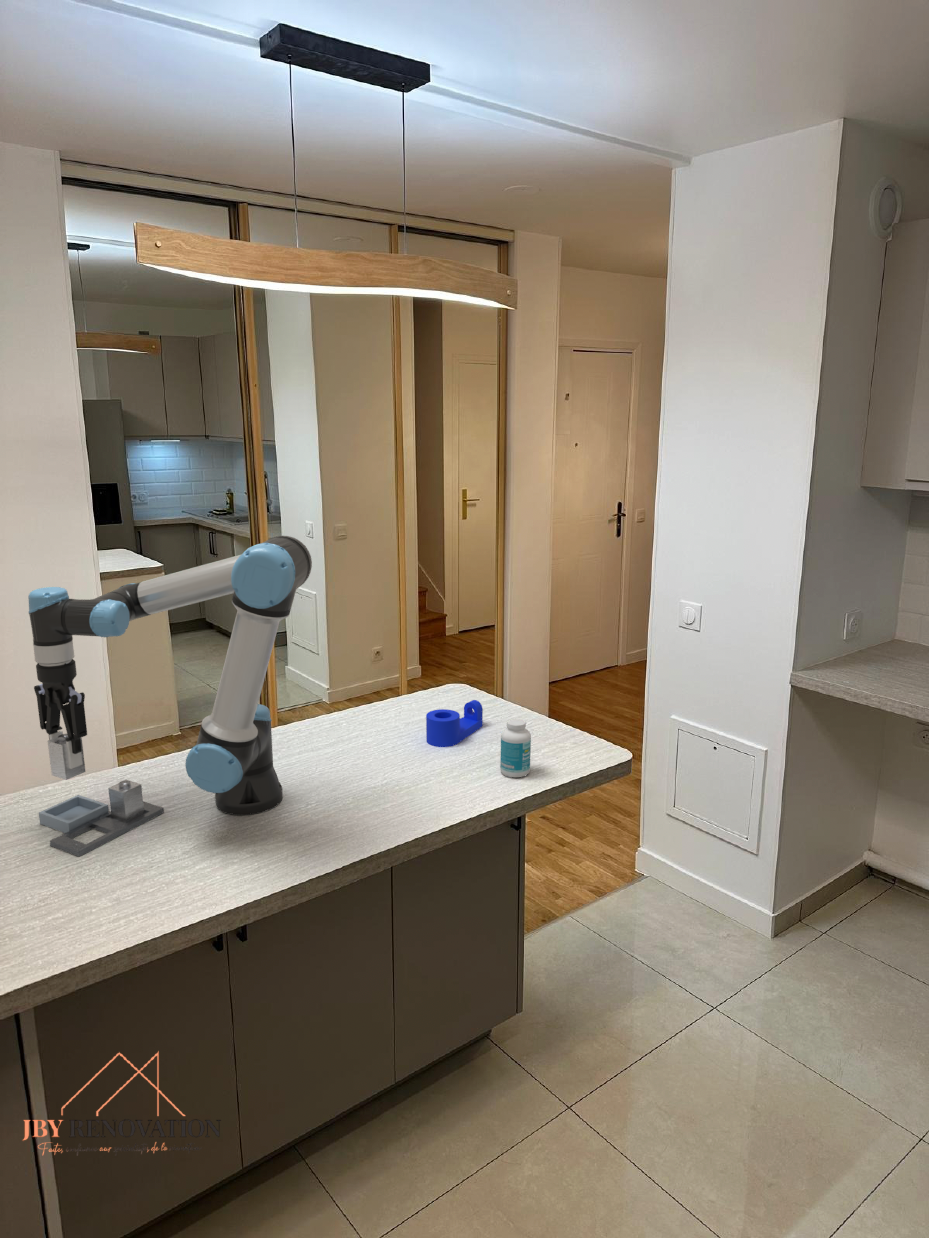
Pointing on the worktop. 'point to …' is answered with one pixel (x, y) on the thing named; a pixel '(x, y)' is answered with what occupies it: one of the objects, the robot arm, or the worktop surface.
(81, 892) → the worktop surface
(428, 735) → the bracket
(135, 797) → the grey knobbed block
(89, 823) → the grey slotted plate
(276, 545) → the robot arm
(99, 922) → the worktop surface
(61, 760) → the knobbed metal block
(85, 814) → the tray
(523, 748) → the pill bottle
